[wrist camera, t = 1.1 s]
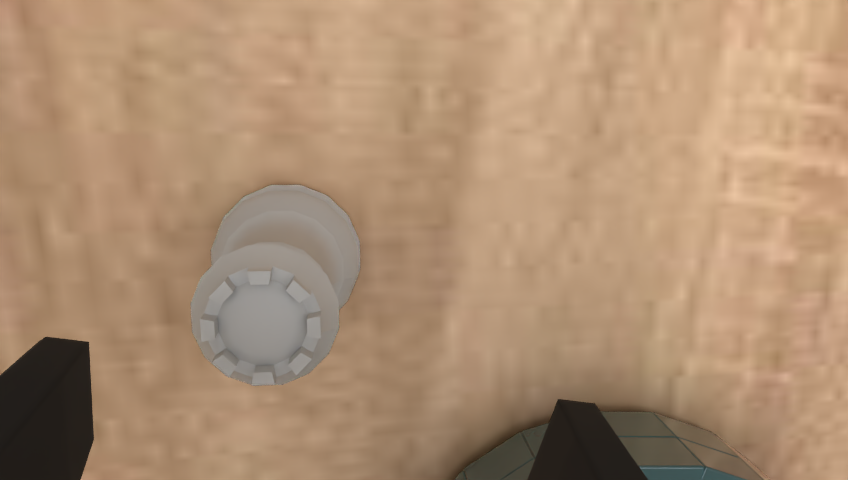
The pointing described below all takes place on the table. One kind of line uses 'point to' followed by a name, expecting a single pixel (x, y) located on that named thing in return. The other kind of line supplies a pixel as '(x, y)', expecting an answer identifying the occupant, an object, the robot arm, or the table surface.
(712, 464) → the teal bowl
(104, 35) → the table surface
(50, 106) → the table surface
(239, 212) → the rook chess piece
